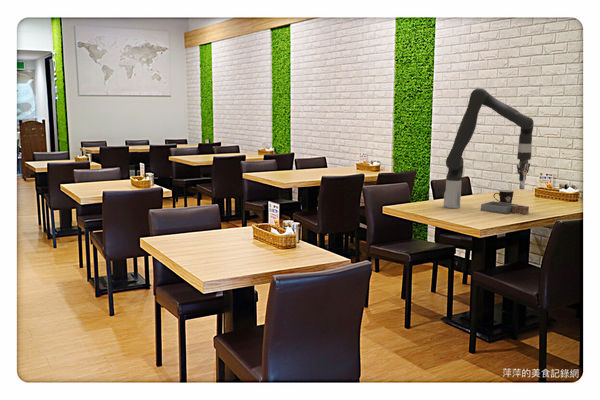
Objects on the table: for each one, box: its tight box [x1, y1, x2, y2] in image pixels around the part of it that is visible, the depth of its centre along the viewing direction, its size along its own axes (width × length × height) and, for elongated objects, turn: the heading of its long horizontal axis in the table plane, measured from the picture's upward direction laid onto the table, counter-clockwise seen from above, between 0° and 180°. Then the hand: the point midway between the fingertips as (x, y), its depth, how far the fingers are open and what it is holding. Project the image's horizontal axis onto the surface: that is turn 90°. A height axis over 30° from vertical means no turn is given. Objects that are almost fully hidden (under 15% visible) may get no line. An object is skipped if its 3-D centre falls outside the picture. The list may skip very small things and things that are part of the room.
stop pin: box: [518, 172, 527, 190], centre depth 324 cm, size 3×3×10 cm
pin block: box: [511, 204, 530, 216], centre depth 326 cm, size 7×7×4 cm
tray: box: [480, 200, 518, 215], centre depth 334 cm, size 16×15×4 cm
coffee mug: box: [493, 189, 514, 204], centre depth 349 cm, size 12×9×10 cm
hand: (522, 180), depth 324 cm, fingers closed on stop pin, 3 cm apart
